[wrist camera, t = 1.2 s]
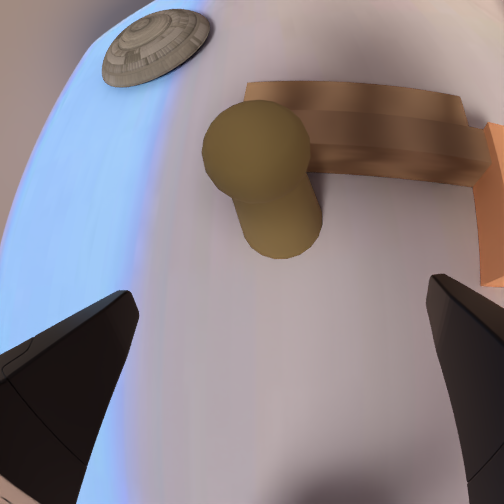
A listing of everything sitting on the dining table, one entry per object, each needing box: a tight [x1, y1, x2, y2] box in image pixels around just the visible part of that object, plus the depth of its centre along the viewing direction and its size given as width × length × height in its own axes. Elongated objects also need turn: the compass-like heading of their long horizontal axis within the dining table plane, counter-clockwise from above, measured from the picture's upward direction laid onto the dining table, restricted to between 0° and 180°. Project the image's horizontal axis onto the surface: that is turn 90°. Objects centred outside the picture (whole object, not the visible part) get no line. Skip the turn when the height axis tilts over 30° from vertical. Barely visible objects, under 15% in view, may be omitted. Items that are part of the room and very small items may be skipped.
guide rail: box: [244, 81, 504, 287], centre depth 21 cm, size 22×17×5 cm
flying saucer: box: [102, 9, 210, 87], centre depth 31 cm, size 15×15×6 cm
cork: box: [202, 100, 322, 259], centre depth 18 cm, size 6×6×11 cm
